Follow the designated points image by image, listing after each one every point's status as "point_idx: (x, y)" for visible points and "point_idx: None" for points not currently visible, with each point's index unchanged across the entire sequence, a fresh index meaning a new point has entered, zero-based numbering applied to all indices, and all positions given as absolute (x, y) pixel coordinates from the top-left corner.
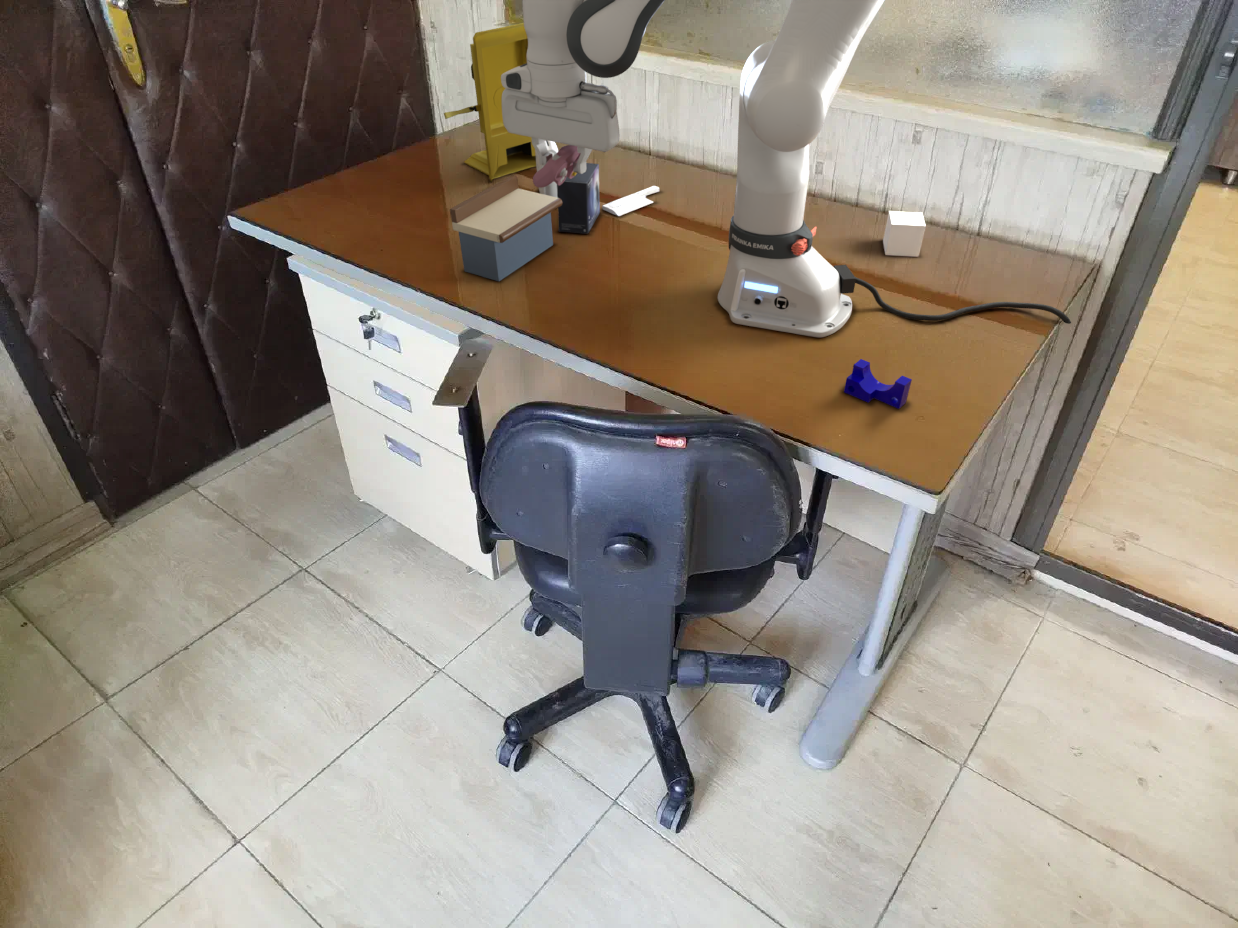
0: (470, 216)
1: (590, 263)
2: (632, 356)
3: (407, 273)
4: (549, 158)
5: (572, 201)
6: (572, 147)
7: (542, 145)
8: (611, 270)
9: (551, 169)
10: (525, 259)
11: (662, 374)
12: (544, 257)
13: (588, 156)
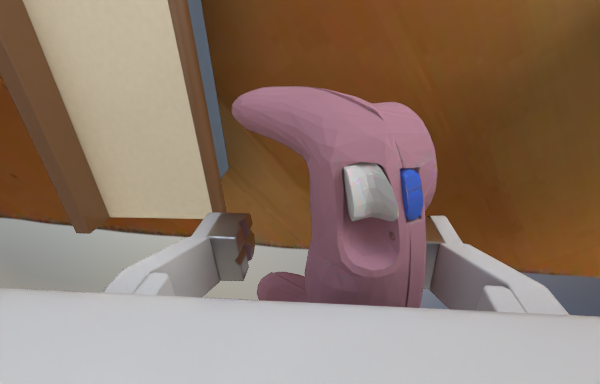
0: (98, 181)
1: (321, 13)
2: (526, 242)
3: None
4: (242, 246)
5: None
6: (390, 302)
7: (177, 280)
8: (380, 16)
9: None
10: (213, 93)
11: (582, 258)
12: (225, 47)
13: (493, 261)
